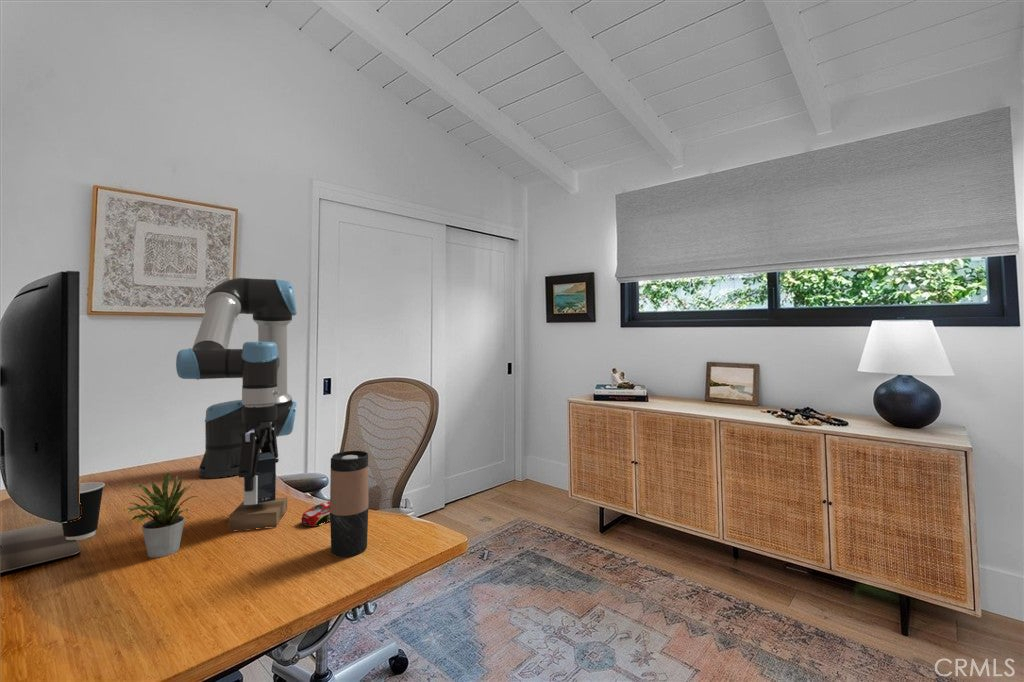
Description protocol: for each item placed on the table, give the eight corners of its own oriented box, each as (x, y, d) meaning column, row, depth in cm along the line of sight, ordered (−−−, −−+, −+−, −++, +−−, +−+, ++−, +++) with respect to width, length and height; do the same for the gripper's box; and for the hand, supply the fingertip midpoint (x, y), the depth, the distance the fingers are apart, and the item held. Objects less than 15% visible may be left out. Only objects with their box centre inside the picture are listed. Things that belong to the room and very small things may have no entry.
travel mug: (376, 546, 95) (376, 453, 95) (346, 561, 89) (346, 461, 89) (351, 538, 99) (352, 448, 99) (321, 552, 93) (322, 456, 93)
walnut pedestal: (244, 516, 112) (244, 500, 112) (287, 512, 114) (287, 497, 114) (228, 533, 102) (228, 515, 102) (276, 529, 105) (276, 512, 105)
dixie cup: (114, 529, 103) (114, 481, 103) (80, 544, 96) (80, 493, 96) (80, 528, 104) (80, 481, 104) (44, 544, 96) (44, 493, 96)
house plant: (117, 547, 94) (117, 471, 94) (197, 530, 103) (197, 459, 103) (114, 575, 83) (114, 488, 83) (203, 552, 92) (204, 474, 92)
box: (276, 500, 107) (276, 457, 107) (249, 506, 104) (249, 461, 104) (269, 491, 113) (269, 450, 113) (243, 496, 110) (243, 454, 110)
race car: (347, 508, 118) (347, 493, 118) (359, 513, 114) (359, 497, 114) (297, 524, 107) (298, 508, 107) (309, 530, 104) (310, 513, 104)
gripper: (256, 411, 98) (256, 513, 98) (292, 398, 120) (292, 481, 120) (220, 412, 97) (219, 514, 97) (262, 398, 119) (262, 482, 119)
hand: (259, 496), depth 108 cm, fingers closed on box, 9 cm apart
